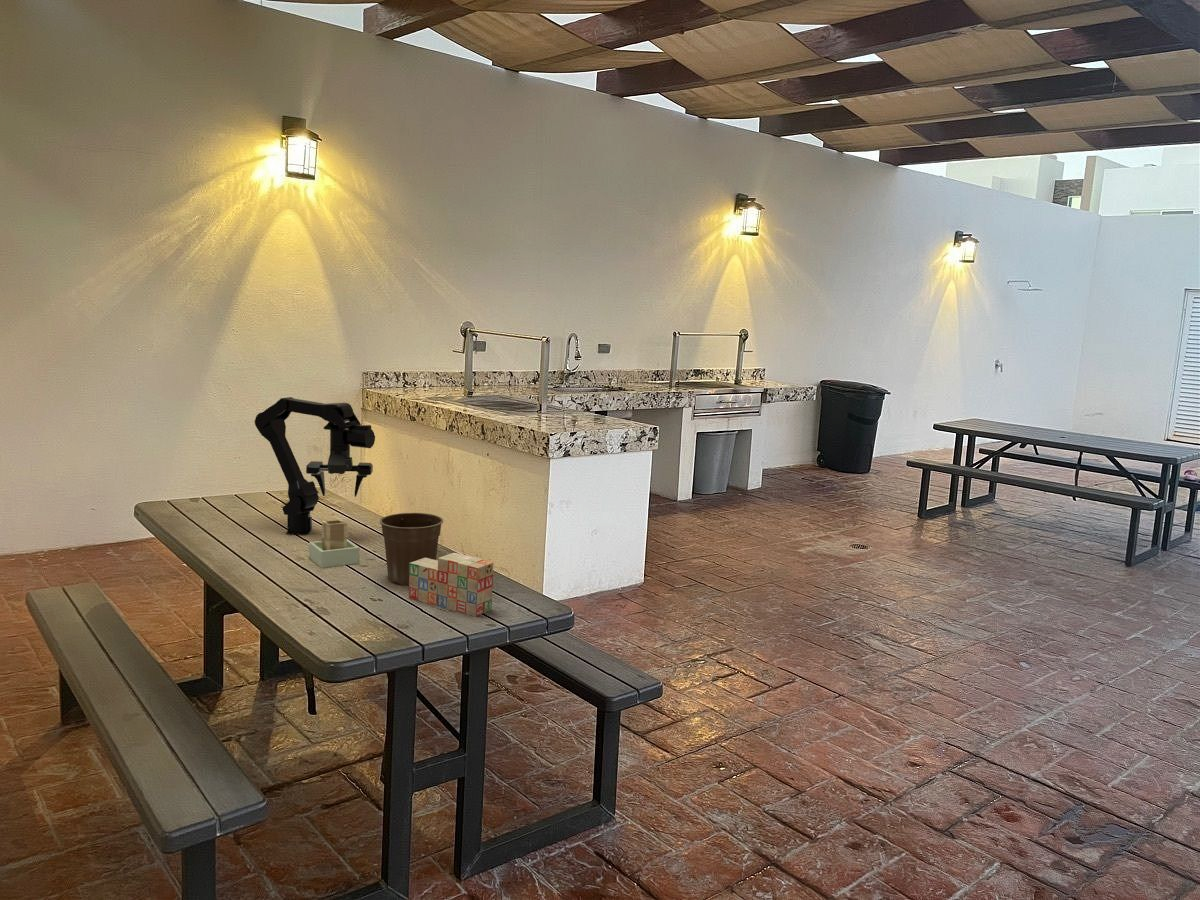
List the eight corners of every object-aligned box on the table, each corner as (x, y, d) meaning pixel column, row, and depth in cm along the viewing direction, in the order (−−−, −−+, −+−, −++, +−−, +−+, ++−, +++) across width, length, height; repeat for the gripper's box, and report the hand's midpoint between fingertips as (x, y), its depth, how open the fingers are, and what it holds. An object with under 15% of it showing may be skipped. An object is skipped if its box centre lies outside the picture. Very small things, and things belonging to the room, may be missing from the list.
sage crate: (309, 557, 257) (309, 542, 256) (346, 553, 263) (346, 538, 262) (321, 567, 248) (321, 551, 247) (359, 563, 254) (359, 547, 253)
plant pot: (387, 591, 232) (388, 529, 229) (372, 573, 246) (373, 514, 243) (449, 585, 239) (451, 524, 237) (431, 567, 254) (432, 510, 251)
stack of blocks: (407, 598, 227) (408, 550, 225) (424, 592, 233) (426, 545, 231) (476, 617, 217) (477, 567, 215) (492, 610, 222) (494, 561, 220)
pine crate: (321, 556, 255) (322, 521, 254) (341, 553, 259) (341, 519, 257) (327, 560, 252) (327, 524, 250) (346, 558, 255) (346, 523, 253)
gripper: (302, 448, 265) (302, 501, 267) (368, 450, 267) (368, 502, 270) (309, 442, 276) (309, 493, 278) (373, 444, 278) (372, 494, 281)
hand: (339, 496), depth 276 cm, fingers open, 9 cm apart
